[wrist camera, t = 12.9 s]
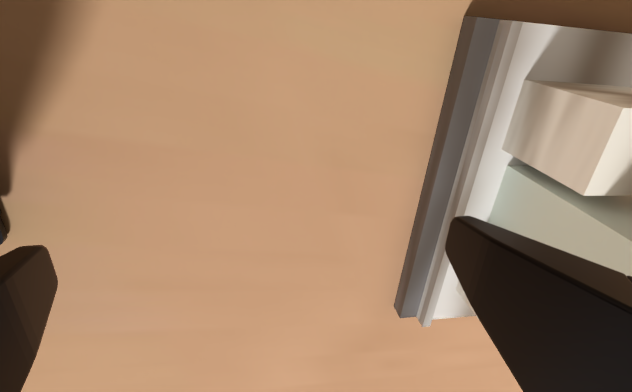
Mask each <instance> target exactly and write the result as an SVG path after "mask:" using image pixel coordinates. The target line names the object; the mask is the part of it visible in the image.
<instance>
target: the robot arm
mask: <svg viewBox="0 0 632 392" xmlns="http://www.w3.org/2000/svg"><path fill="white" fill-rule="evenodd" d="M0 214H1V210H0ZM6 238H7V232H6V230H5V227H4V225H3V222H2V219H1V217H0V245H1V244H2V243H3V242H4V241H5V240H6ZM445 251H446V255H447V257H448V259H449V261H450V263H451V265H452V267H453V270H454V272H455V274H456V276H457V278H458V280H459V282H460V284H461V286H462V289H463V291H464V293H465V295H466V297H467V299H468V301H469V303H470V305H471V306H472V308H473V310H474V312H475V313H476V315H477V317H478V318H479V320H480V322H481V323H482V325H483V327H484V328H485V330H486V331H487V333H488V335H489V336H490V338H491V340H492V341H493V343H494V345H495V346H496V348H497V349H498V351H499V353H500V354H501V356H502V358H503V359H504V361H505V363H506V364H507V366H508V367H509V369H510V371H511V372H512V374H513V376H514V377H515V379H516V381H517V382H518V384H519V385H520V387H521V389H522V390H523V392H632V276H626V275H625V274H624V273H621V272H618V271H616V270H613V269H610V268H608V267H605V266H602V265H600V264H597V263H594V262H592V261H589V260H586V259H584V258H581V257H578V256H576V255H573V254H570V253H568V252H565V251H562V250H560V249H557V248H554V247H552V246H549V245H546V244H544V243H541V242H538V241H536V240H533V239H530V238H528V237H525V236H522V235H520V234H517V233H515V232H512V231H509V230H507V229H504V228H501V227H499V226H496V225H493V224H491V223H488V222H485V221H483V220H480V219H477V218H475V217H472V216H457V217H454V218H453V219H452V220H451V222H450V226H449V230H448V234H447V239H446V243H445ZM57 286H58V280H57V275H56V272H55V269H54V266H53V263H52V260H51V257H50V254H49V252H48V250H47V248H46V247H44V246H43V245H33V246H22V247H18V248H16V249H14V250H12V251H10V252H8V253H6V254H4V255H2V256H0V392H21V390H22V388H23V385H24V383H25V381H26V378H27V376H28V374H29V372H30V369H31V367H32V365H33V362H34V360H35V357H36V355H37V352H38V349H39V346H40V343H41V339H42V336H43V333H44V330H45V326H46V323H47V320H48V317H49V313H50V310H51V307H52V304H53V300H54V297H55V294H56V291H57Z"/></svg>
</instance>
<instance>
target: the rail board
mask: <svg viewBox="0 0 632 392" xmlns="http://www.w3.org/2000/svg"><path fill="white" fill-rule="evenodd" d="M507 165H522V166H532V167H533V168H535V169H537V170H539V171H541V172H542V173H544V174H546V175H548V176H549V177H551V178H553V179H555V180H556V181H558V182H560V183H562V184H564V185H565V186H567V187H569V188H571V189H572V190H574V191H576V192H578V193H579V194H581V195H583V196H618V195H632V34H630V33H621V32H612V31H602V30H593V29H584V28H575V27H566V26H556V25H547V24H538V23H529V22H521V21H511V20H500V19H491V18H482V17H472V16H464V19H463V23H462V27H461V32H460V36H459V40H458V44H457V48H456V52H455V56H454V60H453V65H452V69H451V73H450V77H449V81H448V85H447V89H446V93H445V98H444V102H443V106H442V110H441V114H440V118H439V122H438V126H437V131H436V135H435V139H434V143H433V147H432V151H431V155H430V159H429V164H428V168H427V172H426V176H425V180H424V184H423V188H422V192H421V197H420V201H419V205H418V209H417V213H416V217H415V221H414V226H413V230H412V234H411V238H410V242H409V246H408V250H407V254H406V259H405V263H404V267H403V271H402V275H401V279H400V283H399V287H398V292H397V296H396V300H395V304H394V308H395V309H396V311H397V313H398V315H399V317H400V318H407V317H417V319H418V320H419V322H420V324H421V325H422V327H427V326H430V325H431V321H432V320H433V319H444V318H456V317H468V316H477V315H476V313H475V312H474V310H473V308H472V306H471V305H470V303H469V301H468V299H467V297H466V295H465V293H464V291H463V289H462V286H461V284H460V282H459V280H458V278H457V276H456V274H455V272H454V270H453V267H452V265H451V263H450V261H449V259H448V257H447V255H446V251H445V243H446V239H447V234H448V230H449V226H450V222H451V220H452V219H453V218H454V217H457V216H472V217H475V218H477V219H480V220H483V221H485V222H488V220H489V217H490V214H491V211H492V208H493V205H494V202H495V199H496V196H497V193H498V190H499V188H500V185H501V182H502V179H503V176H504V173H505V170H506V167H507ZM477 318H478V317H477ZM478 319H479V318H478Z"/></svg>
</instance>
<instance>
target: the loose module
mask: <svg viewBox="0 0 632 392" xmlns="http://www.w3.org/2000/svg"><path fill="white" fill-rule="evenodd" d="M488 223H491V224H493V225H496V226H499V227H501V228H504V229H507V230H509V231H512V232H515V233H517V234H520V235H522V236H525V237H528V238H530V239H533V240H536V241H538V242H541V243H544V244H546V245H549V246H552V247H554V248H557V249H560V250H562V251H565V252H568V253H570V254H573V255H576V256H578V257H581V258H584V259H586V260H589V261H592V262H594V263H597V264H600V265H602V266H605V267H608V268H610V269H613V270H616V271H618V272H621V273H624V274H625V275H626V276H632V195H618V196H583V195H581V194H579V193H578V192H576V191H574V190H572V189H571V188H569V187H567V186H565V185H564V184H562V183H560V182H558V181H556V180H555V179H553V178H551V177H549V176H548V175H546V174H544V173H542V172H541V171H539V170H537V169H535V168H533V167H532V166H522V165H507V167H506V170H505V173H504V176H503V179H502V182H501V185H500V188H499V190H498V193H497V196H496V199H495V202H494V205H493V208H492V211H491V214H490V217H489V220H488Z"/></svg>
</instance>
